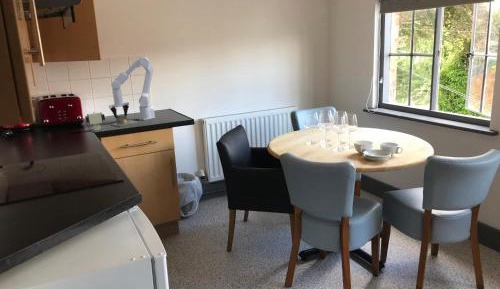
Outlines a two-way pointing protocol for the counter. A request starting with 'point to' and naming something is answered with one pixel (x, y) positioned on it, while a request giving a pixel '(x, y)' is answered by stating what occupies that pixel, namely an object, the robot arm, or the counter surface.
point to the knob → (120, 118)
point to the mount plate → (125, 123)
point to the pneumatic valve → (95, 120)
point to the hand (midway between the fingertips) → (120, 116)
